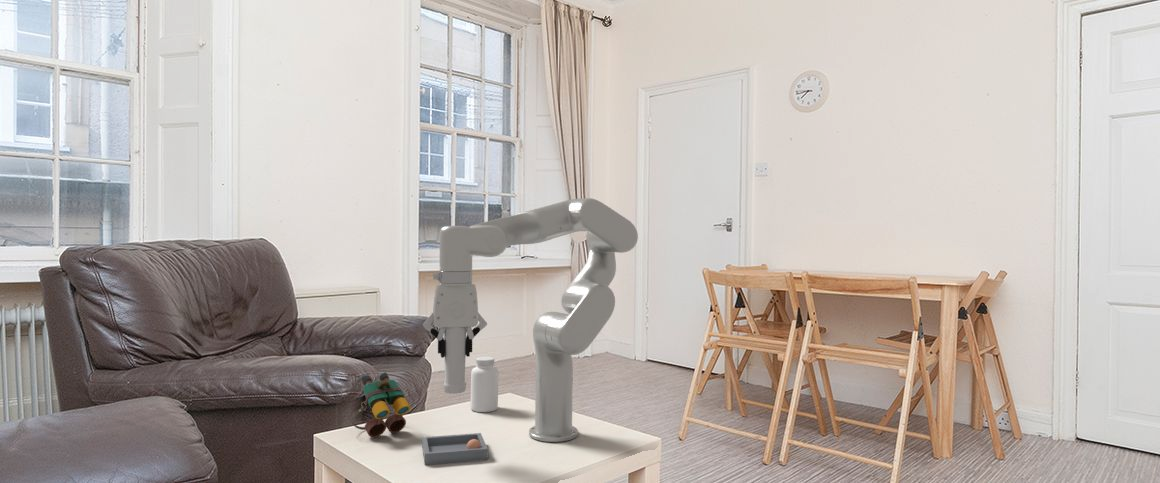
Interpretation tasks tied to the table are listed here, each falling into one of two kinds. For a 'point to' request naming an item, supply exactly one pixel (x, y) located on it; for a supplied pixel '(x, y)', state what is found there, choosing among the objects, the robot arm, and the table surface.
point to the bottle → (455, 360)
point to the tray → (452, 449)
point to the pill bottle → (484, 385)
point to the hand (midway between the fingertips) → (455, 355)
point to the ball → (473, 444)
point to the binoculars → (383, 405)
